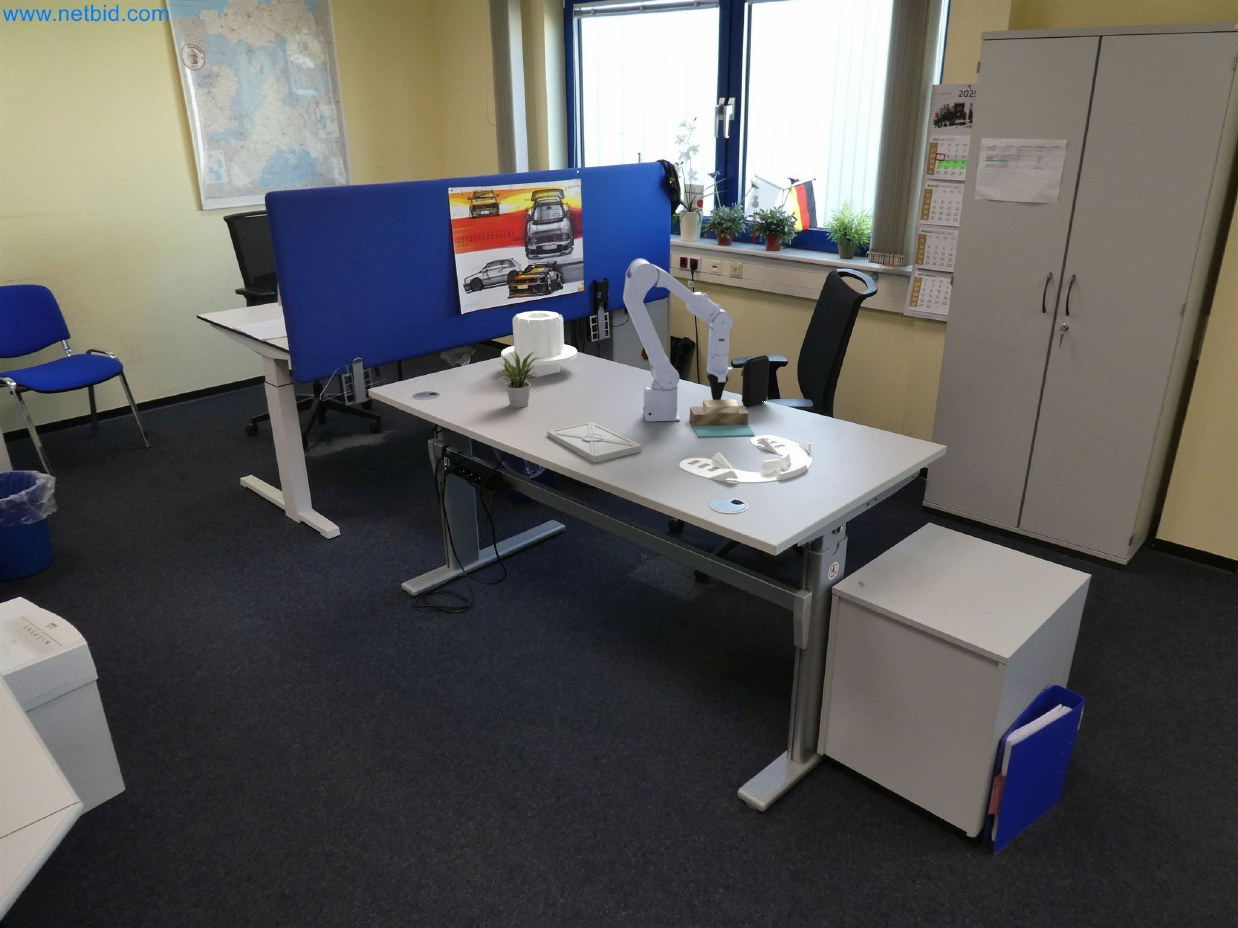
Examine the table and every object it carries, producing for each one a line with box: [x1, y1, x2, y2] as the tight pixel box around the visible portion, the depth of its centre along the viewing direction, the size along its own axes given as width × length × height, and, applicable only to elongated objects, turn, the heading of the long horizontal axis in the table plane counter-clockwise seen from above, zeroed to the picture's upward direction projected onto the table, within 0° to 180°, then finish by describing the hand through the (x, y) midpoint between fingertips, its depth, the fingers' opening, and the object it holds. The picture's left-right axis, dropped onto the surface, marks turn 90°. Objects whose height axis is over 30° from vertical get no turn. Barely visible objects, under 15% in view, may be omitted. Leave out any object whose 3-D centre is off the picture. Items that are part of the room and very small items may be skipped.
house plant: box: [498, 351, 540, 409], centre depth 250 cm, size 14×14×16 cm
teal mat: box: [693, 424, 755, 438], centre depth 230 cm, size 15×8×1 cm, turn 94°
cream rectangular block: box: [702, 398, 740, 414], centre depth 236 cm, size 9×6×2 cm, turn 94°
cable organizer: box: [679, 434, 813, 484], centre depth 209 cm, size 35×24×3 cm
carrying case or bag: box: [740, 354, 770, 409], centre depth 248 cm, size 11×3×15 cm, turn 128°
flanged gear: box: [500, 310, 578, 378], centre depth 283 cm, size 25×25×19 cm
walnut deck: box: [689, 404, 749, 428], centre depth 237 cm, size 15×7×4 cm, turn 94°
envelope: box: [546, 421, 642, 464], centre depth 222 cm, size 24×2×14 cm
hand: (716, 399), depth 242 cm, fingers closed
